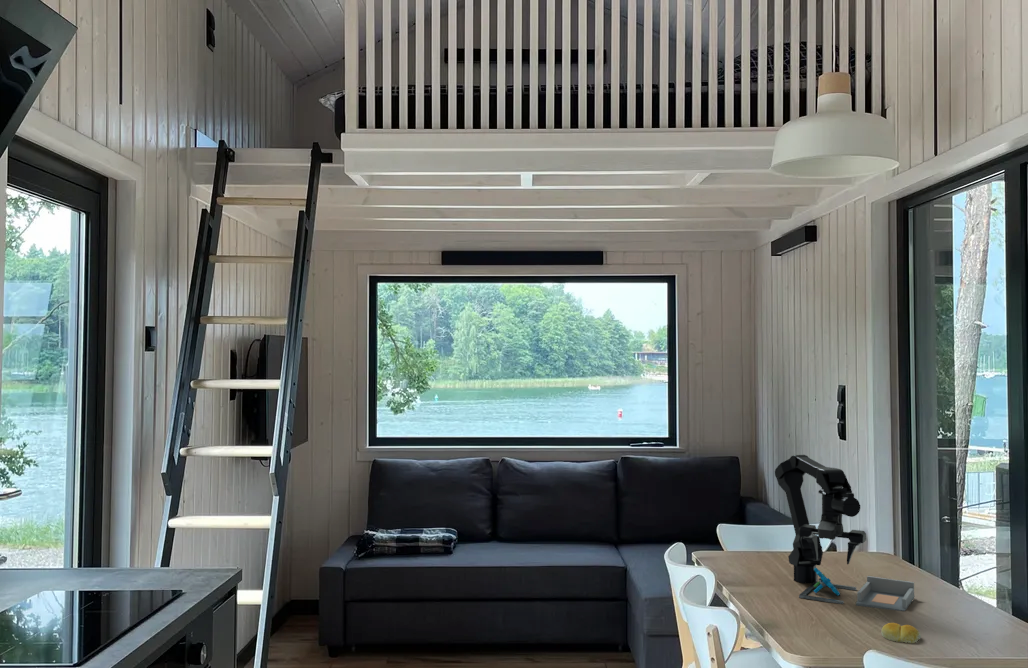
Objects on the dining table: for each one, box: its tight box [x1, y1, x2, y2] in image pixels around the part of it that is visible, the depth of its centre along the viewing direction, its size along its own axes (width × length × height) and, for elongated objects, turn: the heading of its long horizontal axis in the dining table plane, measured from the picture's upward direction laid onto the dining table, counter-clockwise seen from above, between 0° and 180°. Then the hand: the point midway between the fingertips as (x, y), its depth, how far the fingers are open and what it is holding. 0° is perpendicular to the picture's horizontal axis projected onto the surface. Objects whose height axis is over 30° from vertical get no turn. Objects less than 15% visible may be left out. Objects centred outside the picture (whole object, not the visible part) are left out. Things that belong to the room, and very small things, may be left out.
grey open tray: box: [855, 575, 915, 612], centre depth 247 cm, size 13×18×5 cm
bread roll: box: [881, 622, 922, 644], centre depth 212 cm, size 8×9×4 cm
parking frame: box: [798, 581, 857, 605], centre depth 255 cm, size 12×19×1 cm, turn 147°
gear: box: [813, 567, 841, 596], centre depth 256 cm, size 11×6×10 cm
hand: (832, 561), depth 255 cm, fingers open, 9 cm apart
